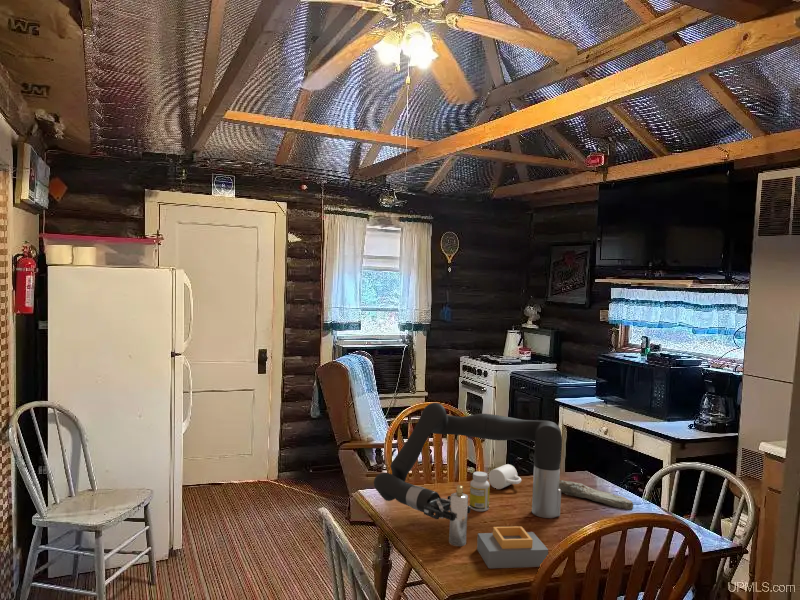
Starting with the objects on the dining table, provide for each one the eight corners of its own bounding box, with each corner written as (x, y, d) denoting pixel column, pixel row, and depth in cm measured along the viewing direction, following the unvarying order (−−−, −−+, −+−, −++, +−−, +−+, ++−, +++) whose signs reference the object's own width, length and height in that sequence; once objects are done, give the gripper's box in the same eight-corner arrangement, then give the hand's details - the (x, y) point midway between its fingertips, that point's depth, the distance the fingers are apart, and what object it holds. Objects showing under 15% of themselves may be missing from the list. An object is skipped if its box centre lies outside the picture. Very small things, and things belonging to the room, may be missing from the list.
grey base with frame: (530, 545, 182) (531, 522, 181) (547, 566, 168) (548, 541, 168) (475, 546, 179) (476, 523, 179) (488, 568, 166) (489, 542, 165)
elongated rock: (627, 516, 212) (635, 510, 220) (629, 502, 212) (637, 497, 220) (540, 487, 234) (550, 483, 242) (541, 475, 234) (551, 470, 242)
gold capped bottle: (463, 538, 185) (465, 483, 184) (467, 546, 179) (470, 489, 179) (447, 538, 184) (449, 483, 183) (451, 546, 179) (453, 489, 178)
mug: (487, 486, 234) (488, 467, 234) (500, 480, 242) (501, 462, 241) (513, 494, 226) (514, 474, 226) (526, 488, 234) (526, 469, 233)
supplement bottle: (479, 503, 215) (481, 469, 215) (492, 509, 210) (494, 475, 209) (465, 506, 211) (466, 472, 211) (478, 513, 206) (479, 478, 205)
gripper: (409, 493, 186) (449, 508, 175) (436, 483, 196) (475, 496, 186) (408, 516, 186) (448, 532, 175) (435, 505, 197) (474, 519, 186)
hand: (462, 513), depth 180 cm, fingers open, 8 cm apart
